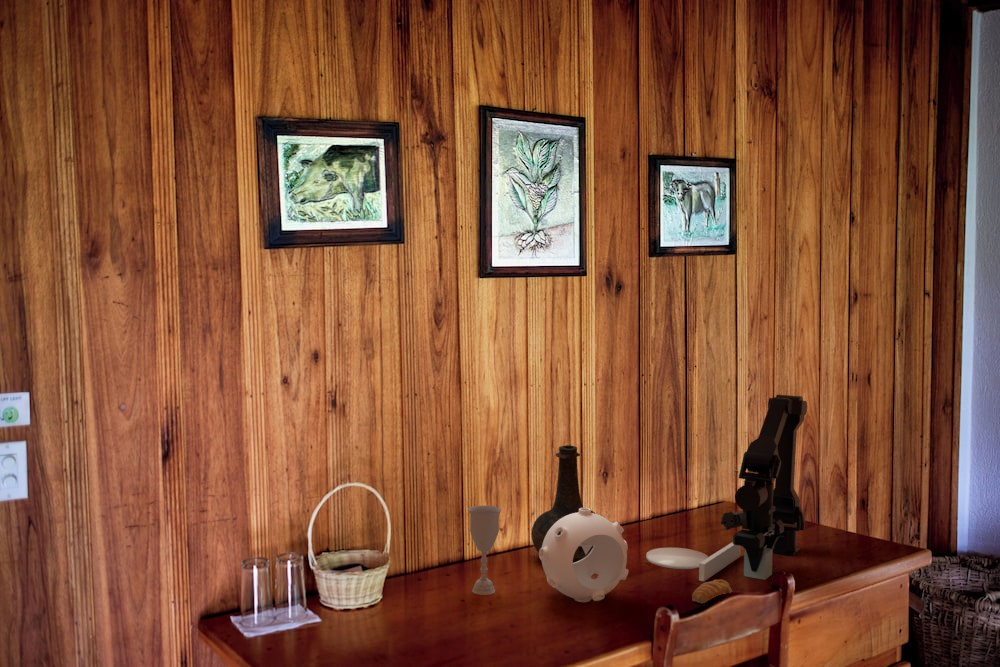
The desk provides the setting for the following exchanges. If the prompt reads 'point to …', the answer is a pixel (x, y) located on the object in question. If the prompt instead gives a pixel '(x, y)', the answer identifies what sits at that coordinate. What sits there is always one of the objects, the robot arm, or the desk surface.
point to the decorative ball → (601, 560)
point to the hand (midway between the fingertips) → (758, 568)
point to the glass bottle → (562, 499)
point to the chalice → (484, 540)
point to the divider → (718, 561)
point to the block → (763, 568)
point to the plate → (676, 558)
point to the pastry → (710, 590)
